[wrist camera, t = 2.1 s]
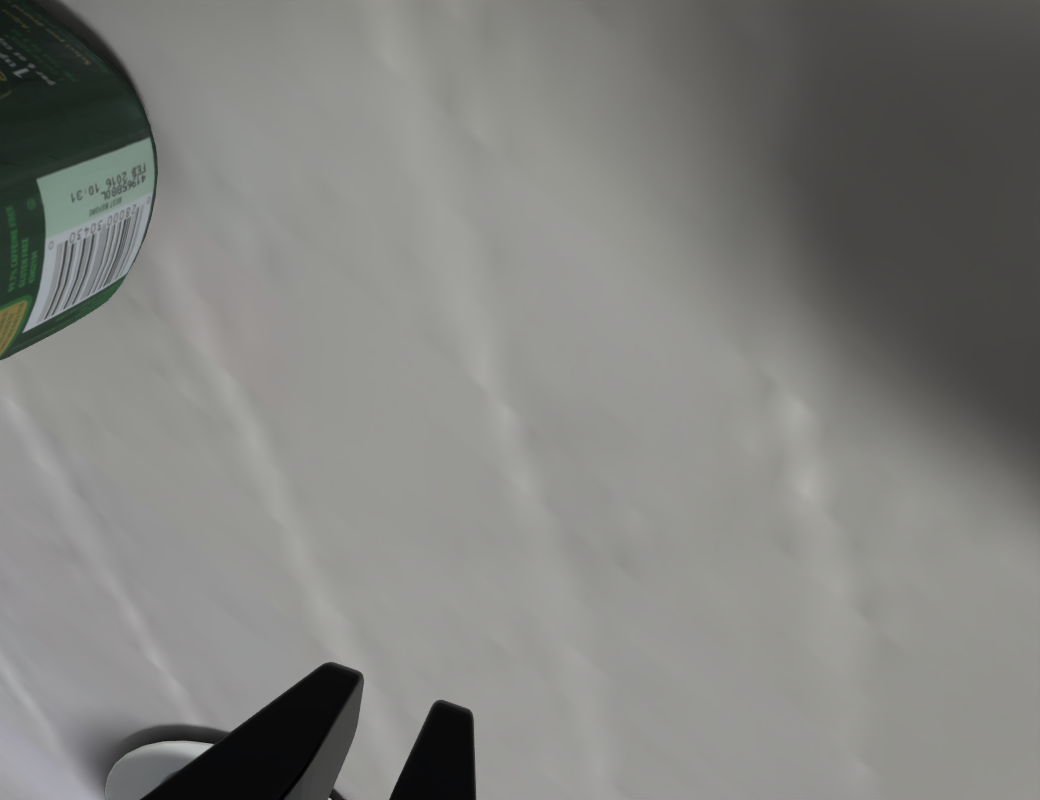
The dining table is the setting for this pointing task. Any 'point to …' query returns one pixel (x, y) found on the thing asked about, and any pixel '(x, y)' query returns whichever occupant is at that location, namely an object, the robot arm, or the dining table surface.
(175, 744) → the purple patterned hat
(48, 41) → the coffee jar
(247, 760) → the robot arm
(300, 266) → the dining table surface
